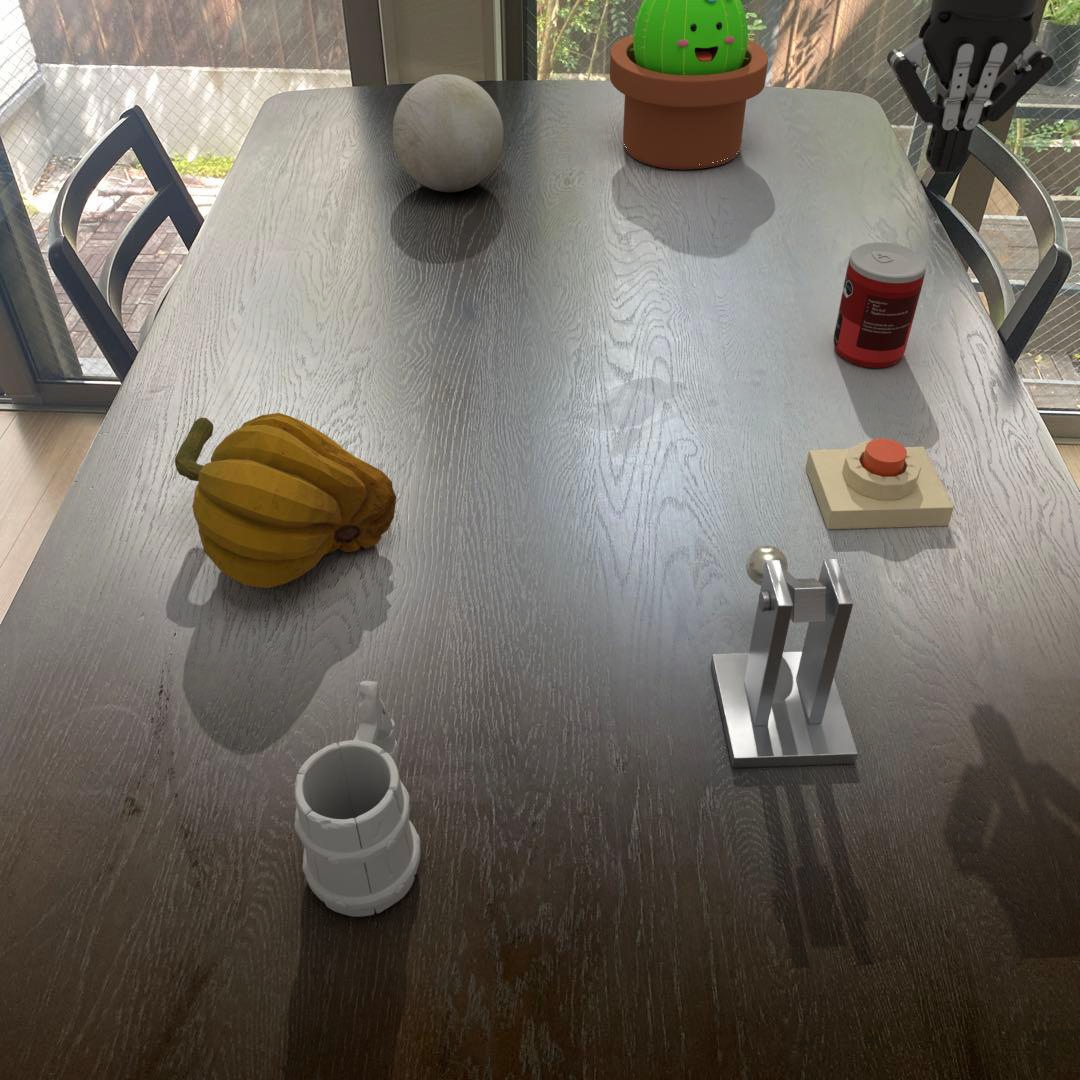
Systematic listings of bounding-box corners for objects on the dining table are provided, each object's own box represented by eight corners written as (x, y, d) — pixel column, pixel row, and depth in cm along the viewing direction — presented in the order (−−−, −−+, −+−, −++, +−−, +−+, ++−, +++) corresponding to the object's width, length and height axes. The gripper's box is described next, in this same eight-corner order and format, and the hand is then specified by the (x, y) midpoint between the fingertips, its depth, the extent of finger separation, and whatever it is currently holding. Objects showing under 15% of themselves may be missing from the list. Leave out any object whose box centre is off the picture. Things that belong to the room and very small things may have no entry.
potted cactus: (593, 125, 168) (598, -53, 151) (728, 115, 171) (748, -62, 154) (627, 184, 152) (636, -8, 135) (776, 171, 155) (803, -18, 138)
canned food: (859, 324, 124) (879, 234, 116) (918, 352, 119) (943, 261, 112) (816, 347, 120) (834, 256, 113) (876, 378, 115) (898, 285, 108)
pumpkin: (342, 651, 89) (108, 572, 88) (391, 541, 103) (187, 471, 101) (379, 524, 81) (122, 435, 80) (426, 422, 95) (206, 344, 93)
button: (896, 452, 100) (900, 437, 99) (907, 477, 97) (912, 461, 96) (857, 453, 100) (861, 438, 98) (868, 478, 97) (871, 463, 96)
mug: (291, 914, 70) (257, 806, 62) (343, 765, 79) (319, 654, 71) (406, 930, 69) (387, 823, 61) (446, 777, 78) (433, 666, 70)
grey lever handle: (741, 581, 86) (742, 542, 86) (781, 580, 87) (782, 541, 86) (786, 629, 73) (786, 582, 72) (833, 627, 73) (834, 581, 72)
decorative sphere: (467, 219, 144) (461, 106, 134) (376, 196, 150) (364, 85, 140) (524, 178, 154) (523, 69, 144) (437, 157, 159) (429, 51, 149)
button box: (918, 464, 104) (928, 431, 102) (948, 525, 98) (959, 491, 95) (805, 467, 104) (812, 434, 101) (827, 529, 97) (835, 495, 95)
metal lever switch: (710, 664, 85) (729, 534, 76) (823, 660, 86) (856, 530, 76) (731, 768, 78) (756, 638, 69) (855, 764, 78) (896, 633, 69)
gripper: (925, -47, 76) (875, 191, 87) (1111, -50, 76) (1037, 187, 88) (895, -73, 81) (852, 153, 93) (1068, -76, 82) (1004, 150, 93)
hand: (942, 169), depth 90 cm, fingers closed
